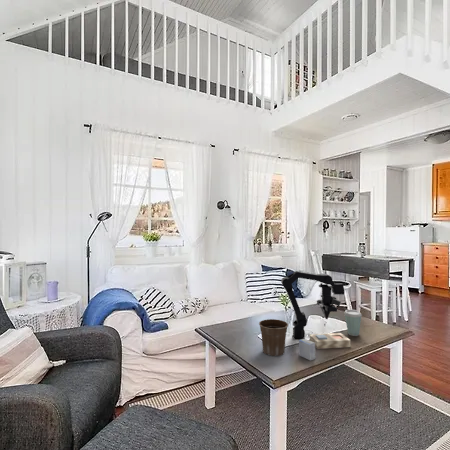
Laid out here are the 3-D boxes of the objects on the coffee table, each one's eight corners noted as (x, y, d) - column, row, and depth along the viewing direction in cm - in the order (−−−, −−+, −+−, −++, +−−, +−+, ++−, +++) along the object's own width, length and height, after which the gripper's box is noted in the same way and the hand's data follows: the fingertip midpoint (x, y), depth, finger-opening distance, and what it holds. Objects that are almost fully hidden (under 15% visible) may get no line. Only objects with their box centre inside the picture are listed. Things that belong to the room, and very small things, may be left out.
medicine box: (315, 358, 163) (315, 342, 163) (309, 360, 161) (309, 344, 161) (304, 353, 170) (304, 338, 170) (298, 355, 167) (298, 339, 167)
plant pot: (294, 355, 168) (293, 326, 168) (268, 360, 162) (267, 329, 162) (278, 344, 183) (278, 317, 183) (254, 348, 177) (254, 321, 177)
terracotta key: (335, 344, 181) (335, 339, 181) (331, 341, 186) (331, 336, 186) (343, 344, 181) (343, 339, 181) (339, 340, 186) (339, 336, 186)
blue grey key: (319, 343, 180) (319, 337, 180) (315, 339, 185) (315, 334, 185) (327, 342, 180) (327, 337, 180) (323, 339, 185) (323, 334, 185)
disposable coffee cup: (365, 336, 195) (365, 312, 195) (352, 338, 192) (351, 314, 192) (354, 330, 205) (353, 308, 205) (340, 332, 202) (340, 310, 202)
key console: (317, 348, 176) (317, 341, 176) (309, 341, 188) (309, 334, 188) (350, 346, 178) (350, 340, 178) (340, 339, 190) (340, 332, 190)
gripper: (345, 297, 183) (345, 323, 183) (332, 291, 202) (333, 314, 202) (327, 297, 183) (327, 323, 183) (316, 291, 201) (316, 314, 201)
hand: (326, 319), depth 192 cm, fingers closed
